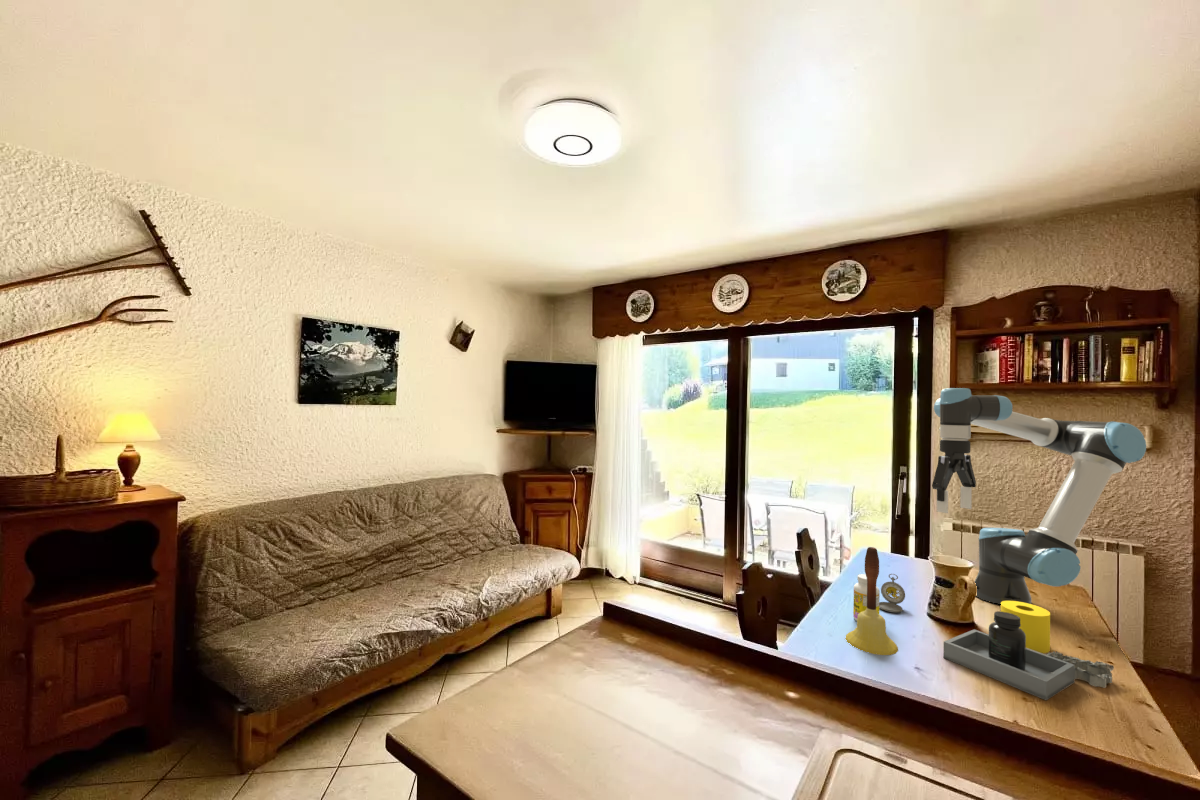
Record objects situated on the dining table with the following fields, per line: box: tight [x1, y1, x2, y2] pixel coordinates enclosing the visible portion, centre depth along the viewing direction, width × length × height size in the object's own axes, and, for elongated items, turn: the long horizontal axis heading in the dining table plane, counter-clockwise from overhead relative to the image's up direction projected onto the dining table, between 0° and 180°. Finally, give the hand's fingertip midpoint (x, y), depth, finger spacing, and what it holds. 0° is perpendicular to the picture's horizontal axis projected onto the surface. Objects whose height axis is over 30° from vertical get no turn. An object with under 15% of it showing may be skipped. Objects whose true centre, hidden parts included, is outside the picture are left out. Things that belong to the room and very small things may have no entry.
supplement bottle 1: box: [852, 573, 881, 622], centre depth 143 cm, size 7×7×13 cm
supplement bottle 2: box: [988, 610, 1026, 671], centre depth 118 cm, size 7×7×12 cm
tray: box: [942, 628, 1076, 701], centre depth 118 cm, size 15×20×4 cm
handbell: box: [844, 546, 899, 656], centre depth 130 cm, size 12×12×25 cm
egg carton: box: [1045, 650, 1115, 688], centre depth 116 cm, size 11×8×4 cm
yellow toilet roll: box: [1000, 601, 1051, 654], centre depth 131 cm, size 10×10×9 cm
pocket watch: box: [879, 573, 906, 614], centre depth 153 cm, size 8×8×10 cm
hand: (954, 510), depth 148 cm, fingers open, 13 cm apart
